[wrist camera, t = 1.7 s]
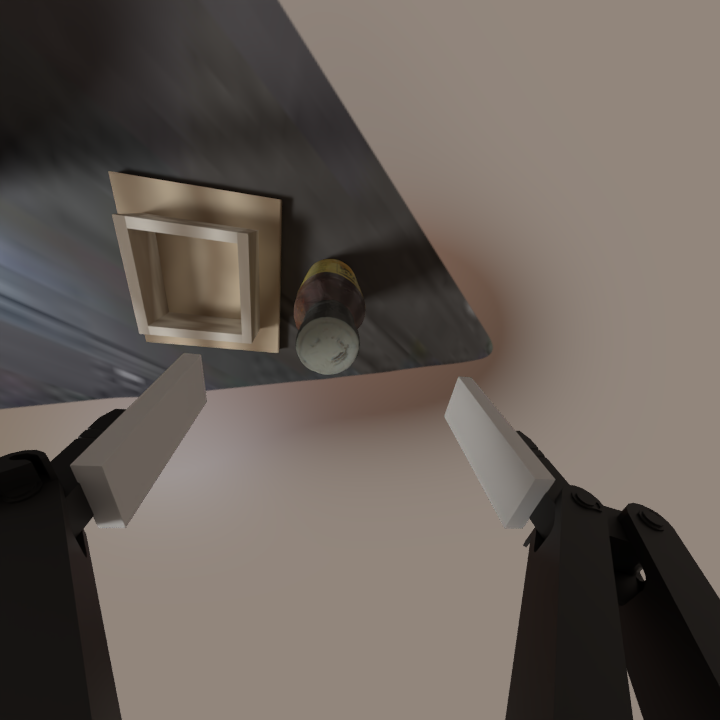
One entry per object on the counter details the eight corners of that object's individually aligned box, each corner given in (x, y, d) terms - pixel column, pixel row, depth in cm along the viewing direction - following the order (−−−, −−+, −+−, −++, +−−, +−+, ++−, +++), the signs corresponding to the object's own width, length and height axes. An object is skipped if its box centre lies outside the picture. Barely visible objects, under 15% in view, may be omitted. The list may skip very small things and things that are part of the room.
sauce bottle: (360, 300, 37) (388, 385, 19) (313, 311, 37) (299, 406, 19) (348, 247, 34) (369, 293, 16) (297, 260, 34) (263, 318, 16)
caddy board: (151, 337, 36) (123, 358, 31) (116, 172, 28) (70, 165, 23) (279, 348, 39) (272, 370, 34) (282, 199, 31) (272, 198, 26)
